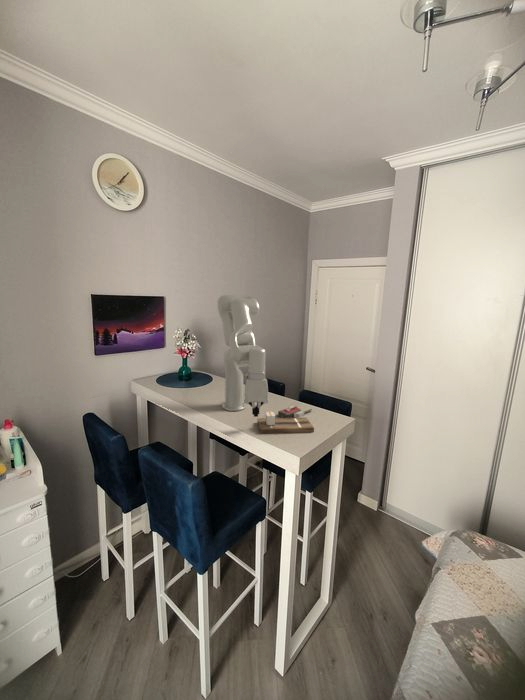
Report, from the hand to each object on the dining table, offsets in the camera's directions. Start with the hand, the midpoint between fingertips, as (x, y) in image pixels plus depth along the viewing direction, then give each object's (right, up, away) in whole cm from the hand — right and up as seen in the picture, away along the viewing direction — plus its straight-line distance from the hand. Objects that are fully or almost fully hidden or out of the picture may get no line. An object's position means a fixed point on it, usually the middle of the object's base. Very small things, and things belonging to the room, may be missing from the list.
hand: (255, 415), depth 138 cm
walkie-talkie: (+20, -4, +21) cm, 29 cm away
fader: (+6, -4, +2) cm, 8 cm away
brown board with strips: (+13, -6, +4) cm, 15 cm away
